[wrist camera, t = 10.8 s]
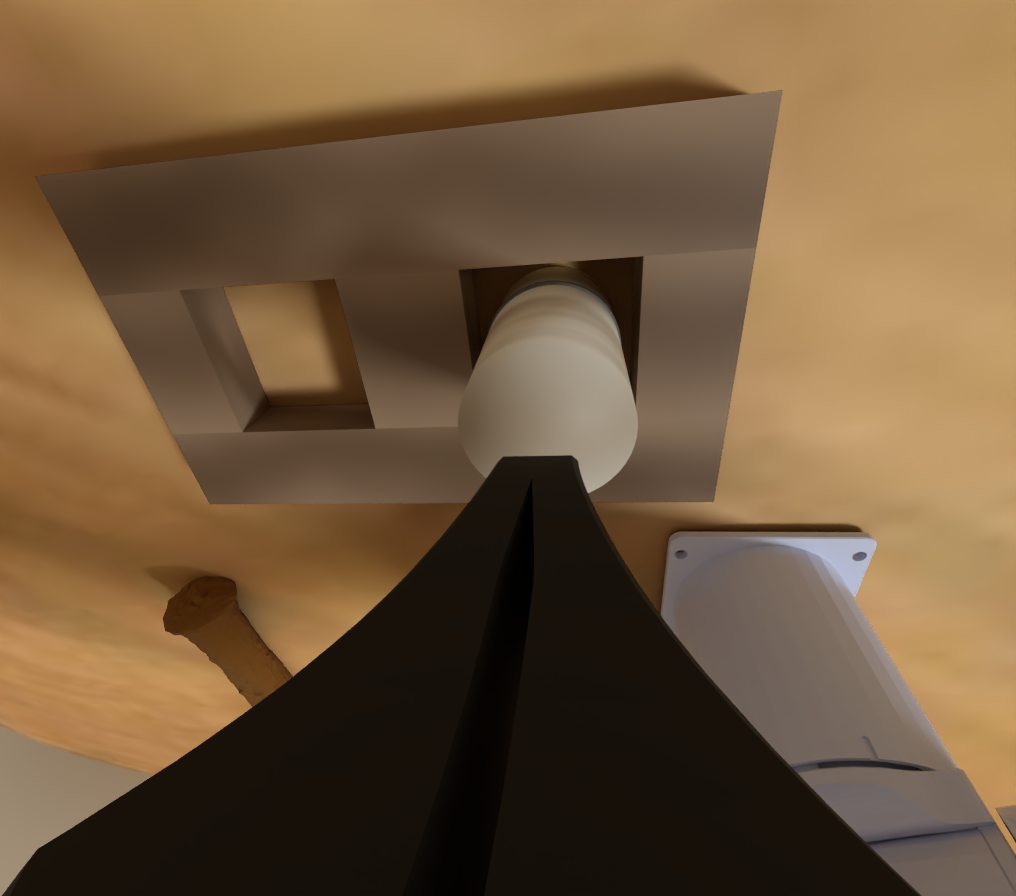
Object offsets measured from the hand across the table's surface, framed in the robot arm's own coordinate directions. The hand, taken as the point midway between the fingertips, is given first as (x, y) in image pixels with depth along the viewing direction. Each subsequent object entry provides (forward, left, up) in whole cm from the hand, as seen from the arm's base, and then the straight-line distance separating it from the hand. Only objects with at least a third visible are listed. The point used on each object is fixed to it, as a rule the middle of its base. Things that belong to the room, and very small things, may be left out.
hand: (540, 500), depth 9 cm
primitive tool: (-22, +18, -10) cm, 31 cm away
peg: (0, 0, -9) cm, 9 cm away
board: (0, +5, -9) cm, 10 cm away
